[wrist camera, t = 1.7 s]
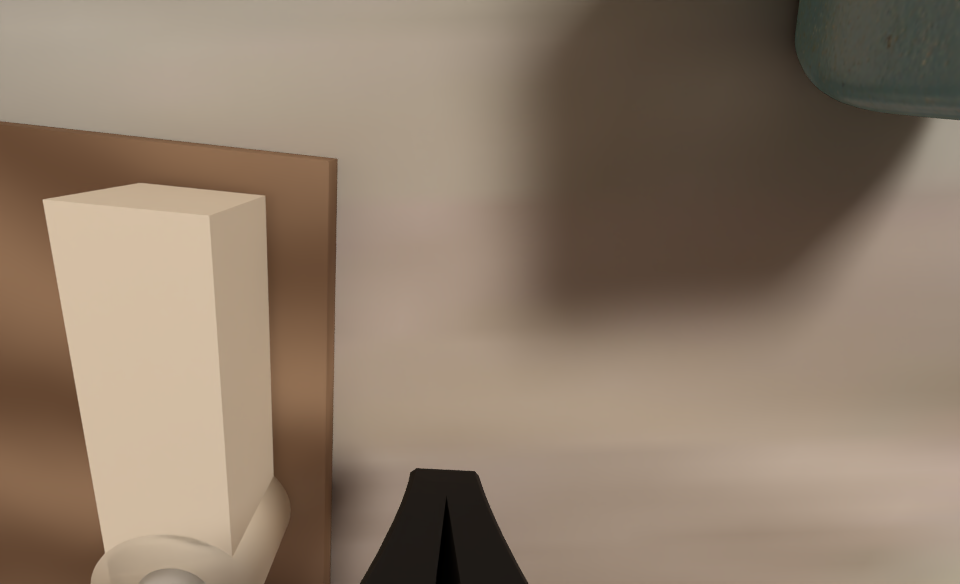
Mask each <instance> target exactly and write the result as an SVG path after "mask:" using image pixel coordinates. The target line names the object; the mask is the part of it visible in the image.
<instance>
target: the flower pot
mask: <svg viewBox="0 0 960 584" xmlns="http://www.w3.org/2000/svg"><path fill="white" fill-rule="evenodd" d="M795 49H796V53H797V56H798V59H799V61H800V64H801V66H802V68H803V70H804V72H805V73H806V75H807V76H808V78H809V79H810V80H811V81H812V83H813V84H814V85H815V86H816V87H817V88H818V89H819V90H821V91H822V92H824V93H825V94H827V95H829V96H830V97H832V98H834V99H836V100H837V101H839V102H842V103H845V104H848V105H851V106H854V107H858V108H862V109H866V110H871V111H877V112H883V113H890V114H900V115H910V116H920V117H930V118H940V119H953V120H960V0H800V1H799V8H798V16H797V24H796V33H795Z"/></svg>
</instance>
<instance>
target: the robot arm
mask: <svg viewBox="0 0 960 584" xmlns="http://www.w3.org/2000/svg"><path fill="white" fill-rule="evenodd" d="M360 584H528V582H527V580H526V579H525V577H524V575H523V573H522V571H521V569H520V568H519V566H518V564H517V562H516V560H515V558H514V556H513V554H512V552H511V550H510V548H509V546H508V544H507V542H506V540H505V539H504V537H503V535H502V532H501V530H500V528H499V526H498V524H497V522H496V519H495V517H494V515H493V513H492V510H491V508H490V506H489V503H488V501H487V498H486V496H485V493H484V490H483V487H482V484H481V481H480V478H479V476H478V475H477V473H476V472H475V471H460V470H440V469H420V468H416V469H415V470H413V471H412V472H411V473H410V477H409V482H408V485H407V488H406V491H405V494H404V497H403V500H402V502H401V505H400V507H399V509H398V512H397V514H396V516H395V519H394V521H393V523H392V525H391V527H390V529H389V531H388V533H387V535H386V537H385V539H384V541H383V543H382V545H381V547H380V549H379V551H378V553H377V555H376V557H375V558H374V560H373V562H372V564H371V565H370V567H369V569H368V571H367V572H366V574H365V576H364V578H363V579H362V581H361V583H360Z"/></svg>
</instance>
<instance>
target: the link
mask: <svg viewBox="0 0 960 584" xmlns="http://www.w3.org/2000/svg"><path fill="white" fill-rule="evenodd" d="M43 205H44V211H45V216H46V222H47V228H48V233H49V239H50V245H51V250H52V256H53V262H54V267H55V273H56V278H57V284H58V290H59V295H60V301H61V307H62V312H63V318H64V324H65V329H66V335H67V341H68V346H69V352H70V358H71V363H72V369H73V375H74V380H75V386H76V391H77V397H78V403H79V408H80V414H81V420H82V425H83V431H84V437H85V442H86V448H87V454H88V459H89V465H90V471H91V476H92V482H93V488H94V493H95V499H96V504H97V510H98V516H99V521H100V527H101V533H102V538H103V544H104V550H105V554H104V555H103V556H102V557H101V559H100V560H99V561H98V563H97V564H96V566H95V568H94V570H93V573H92V577H91V584H264V583H265V580H266V578H267V575H268V573H269V570H270V568H271V565H272V563H273V560H274V558H275V555H276V553H277V550H278V548H279V546H280V543H281V541H282V538H283V536H284V533H285V531H286V528H287V526H288V523H289V520H290V513H291V508H290V502H289V498H288V495H287V493H286V491H285V489H284V488H283V486H282V484H281V483H280V482H279V481H278V480H277V478H276V477H274V471H273V437H272V403H271V370H270V336H269V302H268V269H267V235H266V201H265V196H264V195H255V194H245V193H235V192H225V191H215V190H206V189H196V188H186V187H176V186H166V185H157V184H147V183H136V184H130V185H124V186H119V187H113V188H107V189H101V190H95V191H89V192H83V193H78V194H72V195H66V196H60V197H54V198H48V199H43Z"/></svg>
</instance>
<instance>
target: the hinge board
mask: <svg viewBox="0 0 960 584" xmlns="http://www.w3.org/2000/svg"><path fill="white" fill-rule="evenodd" d="M136 183H147V184H157V185H166V186H176V187H186V188H196V189H206V190H215V191H225V192H235V193H245V194H255V195H264V196H265V201H266V235H267V269H268V302H269V336H270V370H271V403H272V437H273V471H274V477H276V478H277V480H278V481H279V482H280V483H281V484H282V486H283V488H284V489H285V491H286V493H287V495H288V498H289V502H290V508H291V513H290V520H289V523H288V526H287V528H286V531H285V533H284V536H283V538H282V541H281V543H280V546H279V548H278V550H277V553H276V555H275V558H274V560H273V563H272V565H271V568H270V570H269V573H268V575H267V578H266V580H265V583H264V584H330V559H331V502H332V444H333V387H334V330H335V272H336V215H337V159H334V158H325V157H316V156H307V155H298V154H289V153H280V152H271V151H262V150H253V149H244V148H235V147H226V146H217V145H208V144H199V143H190V142H181V141H172V140H163V139H154V138H145V137H136V136H127V135H118V134H109V133H100V132H91V131H82V130H73V129H64V128H55V127H46V126H37V125H28V124H19V123H10V122H1V121H0V584H91V577H92V573H93V570H94V568H95V566H96V564H97V563H98V561H99V560H100V559H101V557H102V556H103V555H104V554H105V550H104V544H103V538H102V533H101V527H100V521H99V516H98V510H97V504H96V499H95V493H94V488H93V482H92V476H91V471H90V465H89V459H88V454H87V448H86V442H85V437H84V431H83V425H82V420H81V414H80V408H79V403H78V397H77V391H76V386H75V380H74V375H73V369H72V363H71V358H70V352H69V346H68V341H67V335H66V329H65V324H64V318H63V312H62V307H61V301H60V295H59V290H58V284H57V278H56V273H55V267H54V262H53V256H52V250H51V245H50V239H49V233H48V228H47V222H46V216H45V211H44V205H43V199H48V198H54V197H60V196H66V195H72V194H78V193H83V192H89V191H95V190H101V189H107V188H113V187H119V186H124V185H130V184H136Z"/></svg>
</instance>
